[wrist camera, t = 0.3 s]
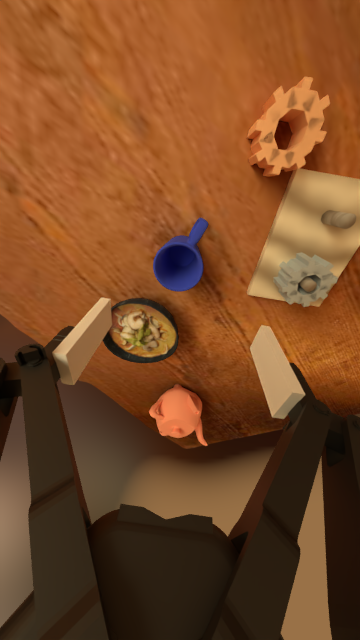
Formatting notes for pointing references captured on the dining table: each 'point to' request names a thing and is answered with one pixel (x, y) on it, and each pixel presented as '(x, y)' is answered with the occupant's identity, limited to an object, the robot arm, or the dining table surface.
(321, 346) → the dining table surface
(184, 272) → the mug
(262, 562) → the robot arm
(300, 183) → the board
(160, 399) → the teapot
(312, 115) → the gear
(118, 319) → the bowl
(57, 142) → the dining table surface
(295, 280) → the gear
